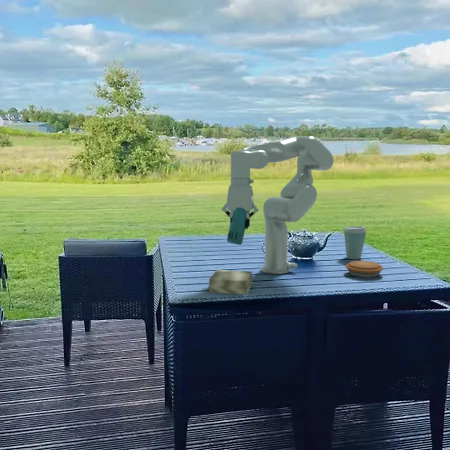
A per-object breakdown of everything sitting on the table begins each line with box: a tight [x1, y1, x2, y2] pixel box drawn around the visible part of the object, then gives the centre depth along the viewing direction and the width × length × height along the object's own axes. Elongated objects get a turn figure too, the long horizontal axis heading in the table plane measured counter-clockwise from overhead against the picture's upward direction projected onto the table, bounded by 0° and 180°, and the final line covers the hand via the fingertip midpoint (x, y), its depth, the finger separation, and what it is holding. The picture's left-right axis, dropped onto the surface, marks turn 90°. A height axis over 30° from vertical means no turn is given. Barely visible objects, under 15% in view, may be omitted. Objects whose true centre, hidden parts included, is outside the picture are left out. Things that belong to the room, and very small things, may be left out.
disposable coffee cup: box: [343, 225, 367, 260], centre depth 263 cm, size 11×11×15 cm
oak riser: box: [208, 269, 253, 295], centre depth 212 cm, size 14×14×5 cm
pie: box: [344, 260, 384, 278], centre depth 233 cm, size 16×16×5 cm
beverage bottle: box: [226, 207, 247, 246], centre depth 220 cm, size 6×7×20 cm
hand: (239, 227), depth 221 cm, fingers closed on beverage bottle, 4 cm apart
